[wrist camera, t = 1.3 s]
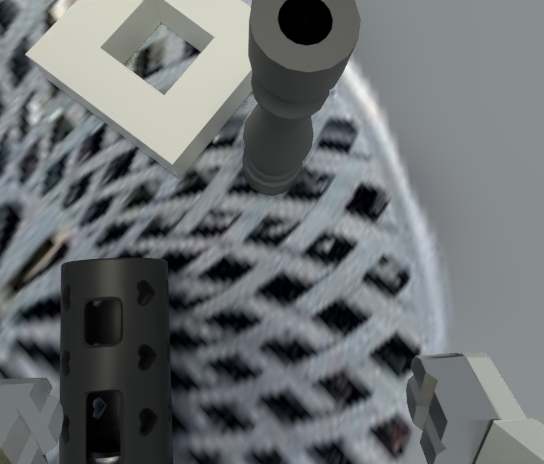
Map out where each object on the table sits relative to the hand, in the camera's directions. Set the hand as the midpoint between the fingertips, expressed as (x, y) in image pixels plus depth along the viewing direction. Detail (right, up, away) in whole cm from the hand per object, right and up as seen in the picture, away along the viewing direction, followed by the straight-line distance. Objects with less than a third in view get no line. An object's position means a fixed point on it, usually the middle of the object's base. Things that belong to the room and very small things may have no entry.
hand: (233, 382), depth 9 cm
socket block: (-11, +22, +37) cm, 44 cm away
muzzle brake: (-13, -14, +32) cm, 37 cm away
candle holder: (+1, +10, +36) cm, 38 cm away
